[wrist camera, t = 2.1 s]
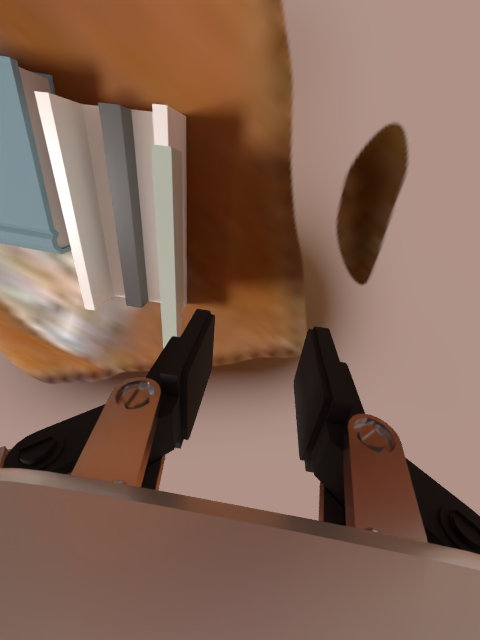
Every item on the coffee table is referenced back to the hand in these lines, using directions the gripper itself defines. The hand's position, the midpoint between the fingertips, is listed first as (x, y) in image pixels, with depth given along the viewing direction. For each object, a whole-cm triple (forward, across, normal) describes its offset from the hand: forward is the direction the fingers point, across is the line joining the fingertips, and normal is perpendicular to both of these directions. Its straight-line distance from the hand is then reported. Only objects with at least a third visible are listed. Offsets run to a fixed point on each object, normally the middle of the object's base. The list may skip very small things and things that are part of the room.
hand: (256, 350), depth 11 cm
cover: (+11, +8, 0) cm, 14 cm away
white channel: (+21, +15, 0) cm, 26 cm away
